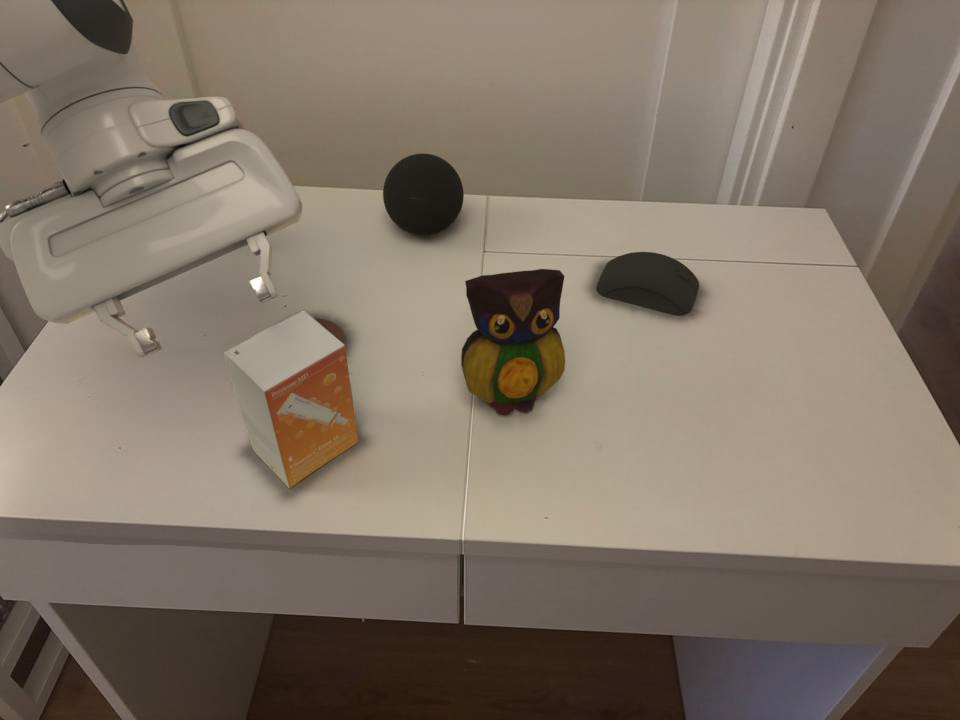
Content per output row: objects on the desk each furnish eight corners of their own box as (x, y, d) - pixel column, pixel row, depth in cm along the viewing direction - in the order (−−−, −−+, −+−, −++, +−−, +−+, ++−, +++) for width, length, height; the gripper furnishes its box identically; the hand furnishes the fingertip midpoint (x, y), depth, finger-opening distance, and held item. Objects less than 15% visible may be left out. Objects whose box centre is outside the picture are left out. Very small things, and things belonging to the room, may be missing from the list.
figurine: (468, 429, 73) (469, 313, 62) (456, 378, 77) (455, 262, 67) (565, 415, 74) (582, 300, 63) (547, 366, 79) (560, 251, 68)
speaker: (407, 260, 91) (402, 189, 84) (373, 219, 97) (366, 150, 90) (477, 237, 95) (478, 167, 88) (440, 199, 101) (439, 131, 94)
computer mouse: (689, 319, 85) (697, 291, 82) (593, 294, 87) (597, 267, 85) (699, 286, 89) (707, 259, 86) (607, 263, 92) (612, 237, 89)
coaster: (301, 382, 77) (301, 380, 76) (254, 345, 80) (254, 343, 80) (360, 343, 81) (360, 341, 81) (313, 310, 85) (312, 308, 84)
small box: (290, 491, 67) (262, 392, 58) (251, 450, 70) (220, 351, 61) (361, 442, 71) (346, 343, 62) (322, 406, 74) (302, 307, 65)
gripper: (-40, 204, 50) (60, 390, 51) (247, 88, 53) (334, 265, 54) (2, 221, 56) (90, 386, 57) (256, 116, 59) (334, 274, 61)
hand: (211, 326), depth 56 cm, fingers open, 8 cm apart
